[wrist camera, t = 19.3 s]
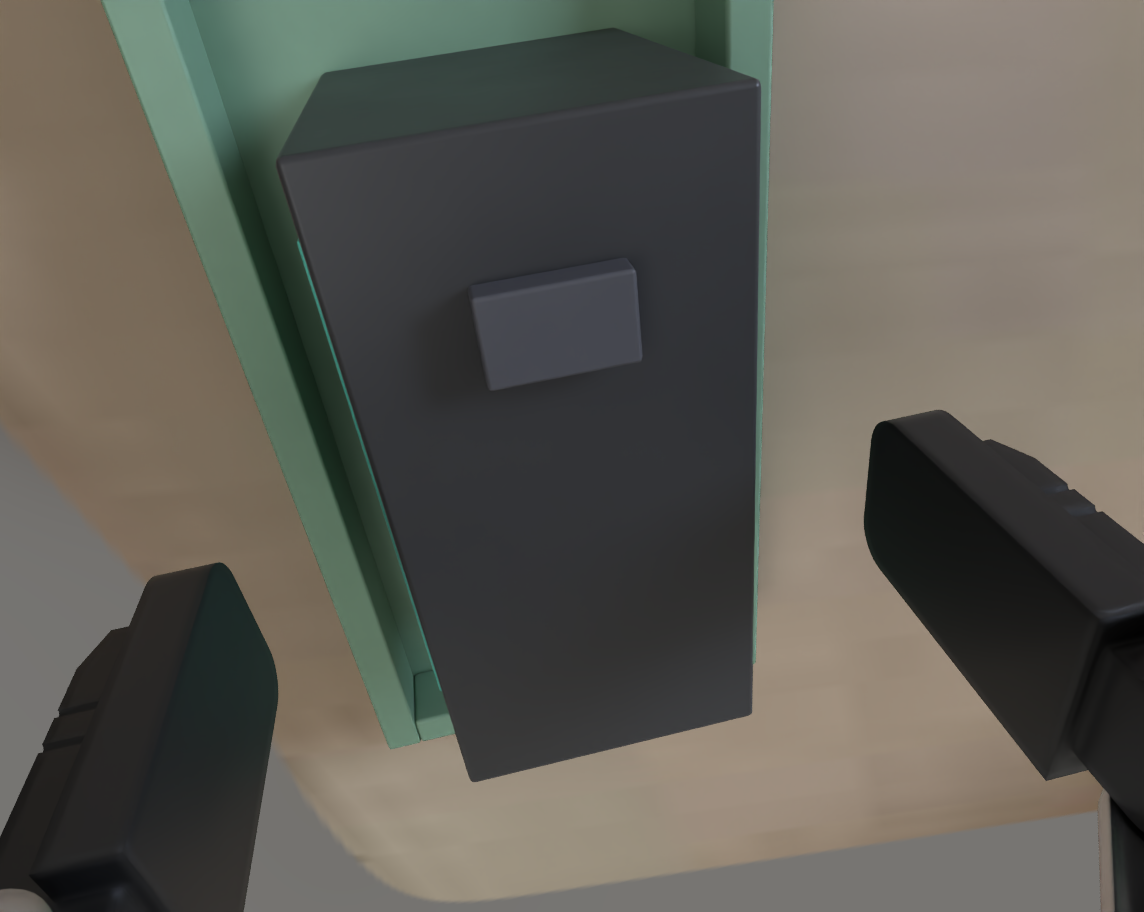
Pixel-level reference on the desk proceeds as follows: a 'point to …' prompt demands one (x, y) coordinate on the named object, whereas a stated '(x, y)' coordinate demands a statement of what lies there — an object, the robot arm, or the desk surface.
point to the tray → (273, 261)
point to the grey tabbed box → (551, 372)
